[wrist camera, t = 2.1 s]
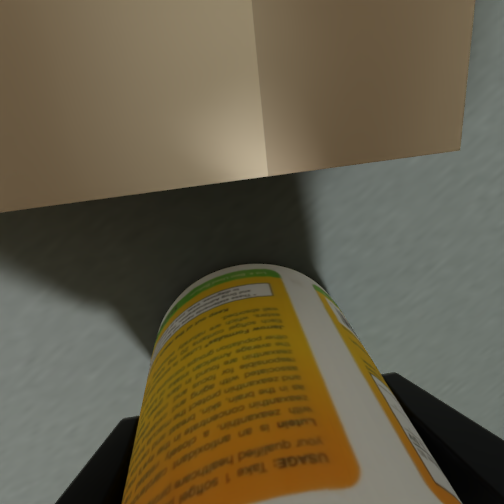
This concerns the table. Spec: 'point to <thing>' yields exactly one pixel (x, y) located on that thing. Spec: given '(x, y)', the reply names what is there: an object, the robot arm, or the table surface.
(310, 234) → the table surface
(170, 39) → the socket block
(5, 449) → the table surface
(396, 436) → the supplement bottle
